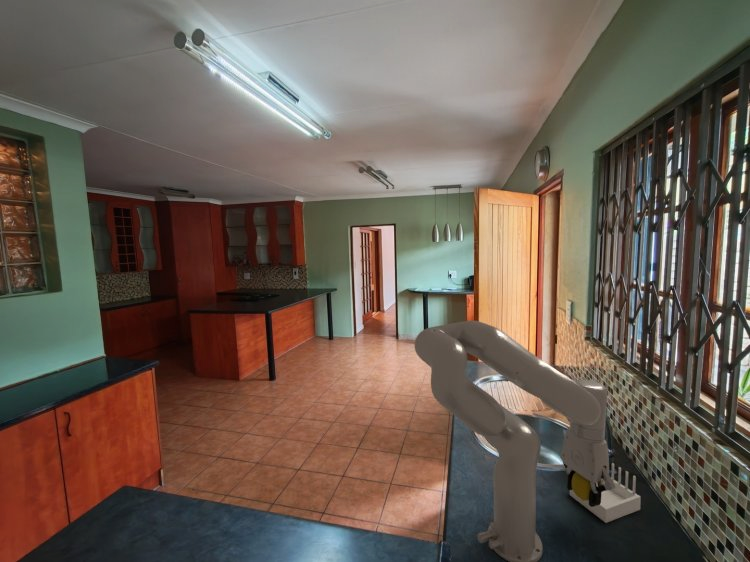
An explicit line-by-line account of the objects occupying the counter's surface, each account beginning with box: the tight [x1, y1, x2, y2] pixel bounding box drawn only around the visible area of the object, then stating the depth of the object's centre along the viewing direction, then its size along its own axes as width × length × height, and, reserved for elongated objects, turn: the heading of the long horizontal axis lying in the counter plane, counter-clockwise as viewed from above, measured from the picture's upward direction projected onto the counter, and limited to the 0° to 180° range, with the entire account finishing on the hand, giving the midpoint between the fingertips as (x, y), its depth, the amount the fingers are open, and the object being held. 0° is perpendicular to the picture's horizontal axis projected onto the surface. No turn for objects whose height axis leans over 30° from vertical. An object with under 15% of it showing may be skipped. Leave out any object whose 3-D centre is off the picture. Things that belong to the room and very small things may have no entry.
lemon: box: [572, 472, 592, 501], centre depth 87 cm, size 6×6×8 cm
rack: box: [569, 462, 642, 524], centre depth 95 cm, size 13×11×9 cm
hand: (583, 495), depth 87 cm, fingers closed on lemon, 5 cm apart
